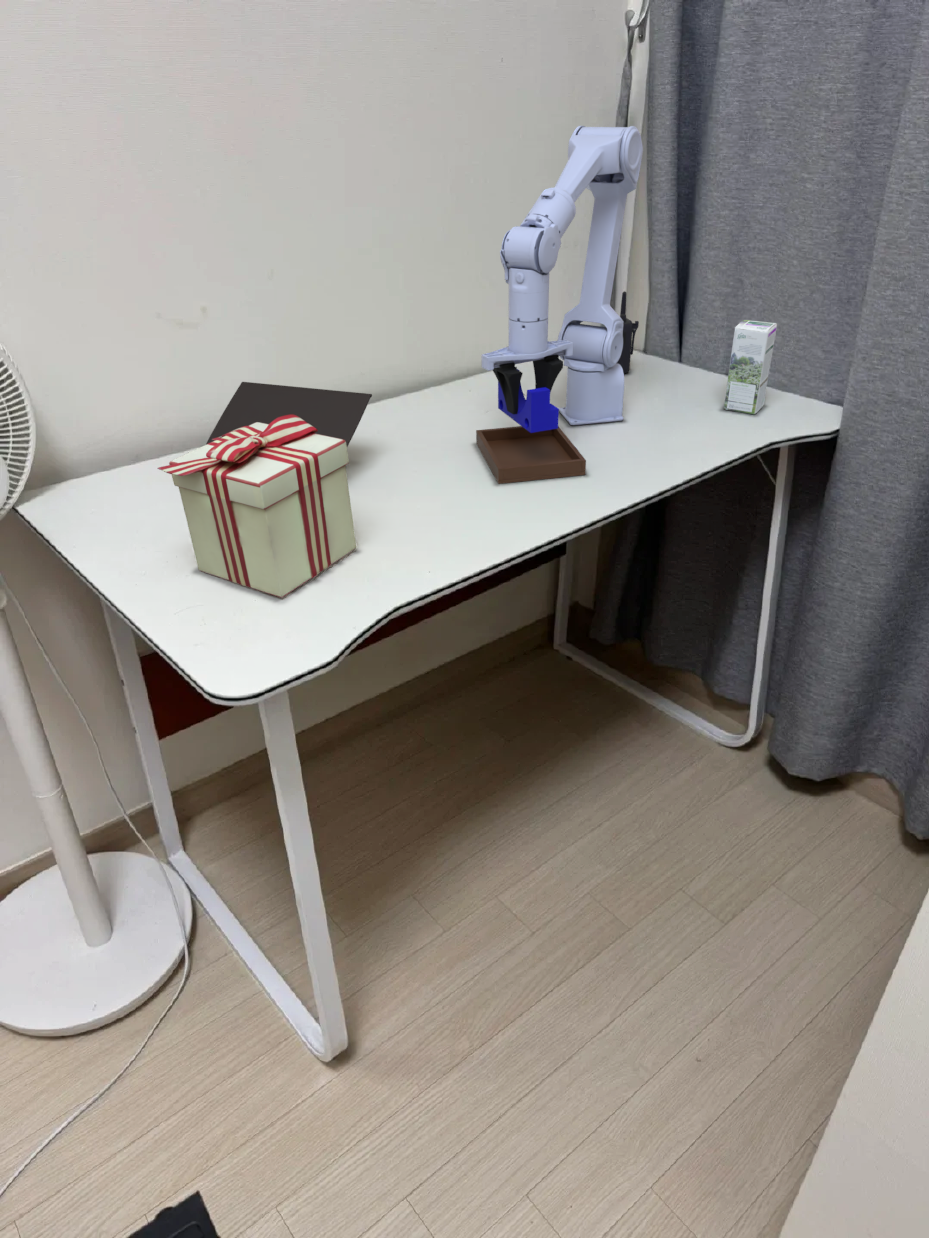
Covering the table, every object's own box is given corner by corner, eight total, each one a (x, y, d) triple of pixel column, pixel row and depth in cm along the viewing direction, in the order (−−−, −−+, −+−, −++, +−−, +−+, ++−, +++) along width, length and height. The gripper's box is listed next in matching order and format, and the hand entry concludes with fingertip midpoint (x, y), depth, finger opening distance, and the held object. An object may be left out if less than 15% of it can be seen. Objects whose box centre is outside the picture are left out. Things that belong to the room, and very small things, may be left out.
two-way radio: (611, 367, 174) (616, 289, 166) (633, 367, 173) (640, 289, 165) (612, 375, 169) (618, 296, 161) (635, 375, 169) (642, 296, 161)
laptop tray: (198, 521, 132) (170, 483, 125) (258, 413, 143) (236, 371, 135) (331, 542, 125) (310, 502, 118) (384, 426, 136) (368, 383, 128)
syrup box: (764, 405, 152) (778, 321, 145) (754, 415, 148) (768, 330, 140) (732, 400, 155) (745, 318, 147) (722, 410, 151) (734, 326, 143)
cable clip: (558, 428, 128) (559, 388, 124) (530, 433, 126) (531, 393, 123) (523, 404, 137) (524, 366, 134) (498, 408, 136) (498, 370, 133)
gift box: (252, 520, 119) (231, 398, 110) (364, 546, 112) (351, 418, 102) (164, 575, 107) (131, 443, 97) (283, 609, 99) (260, 470, 90)
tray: (555, 436, 143) (555, 422, 141) (585, 475, 129) (586, 460, 128) (476, 444, 141) (476, 430, 139) (498, 484, 127) (498, 469, 126)
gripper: (556, 305, 129) (553, 393, 137) (470, 318, 124) (472, 410, 131) (582, 315, 124) (578, 406, 131) (494, 329, 119) (495, 423, 126)
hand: (527, 409), depth 131 cm, fingers closed on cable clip, 4 cm apart
